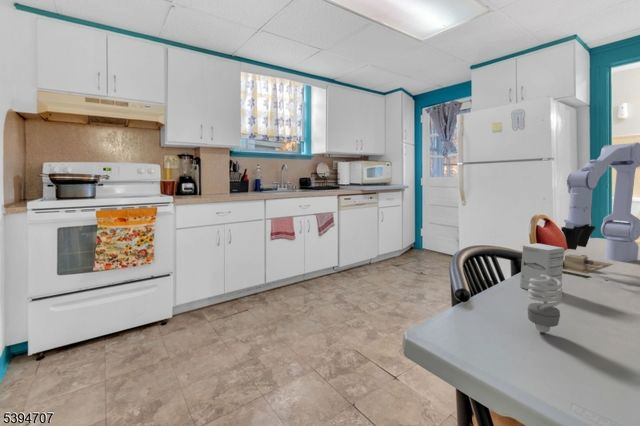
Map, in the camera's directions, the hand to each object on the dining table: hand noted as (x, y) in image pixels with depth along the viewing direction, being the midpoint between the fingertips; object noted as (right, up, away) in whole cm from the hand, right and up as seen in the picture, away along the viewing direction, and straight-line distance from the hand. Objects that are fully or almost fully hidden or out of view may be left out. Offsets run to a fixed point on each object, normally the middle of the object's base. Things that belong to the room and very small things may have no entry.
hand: (576, 247), depth 107 cm
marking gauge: (0, -7, +1) cm, 7 cm away
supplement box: (-24, -10, -16) cm, 31 cm away
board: (+5, -8, +3) cm, 10 cm away
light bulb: (-41, -13, -42) cm, 60 cm away
